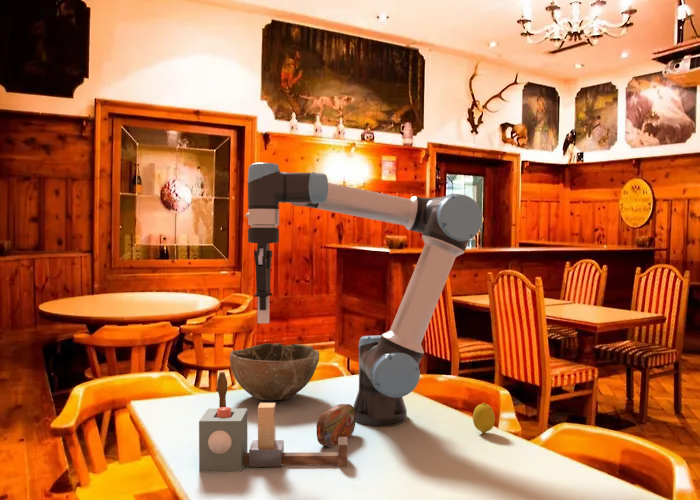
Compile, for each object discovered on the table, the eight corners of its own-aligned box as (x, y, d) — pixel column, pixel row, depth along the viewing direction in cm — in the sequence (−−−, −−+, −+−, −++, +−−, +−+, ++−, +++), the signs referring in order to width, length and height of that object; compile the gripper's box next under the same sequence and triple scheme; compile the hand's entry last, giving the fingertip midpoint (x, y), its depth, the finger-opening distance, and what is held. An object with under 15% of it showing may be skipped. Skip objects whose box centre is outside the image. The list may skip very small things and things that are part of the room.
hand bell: (231, 441, 146) (231, 377, 145) (200, 438, 147) (200, 375, 147) (244, 430, 154) (244, 369, 153) (214, 427, 155) (214, 367, 155)
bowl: (329, 390, 193) (329, 344, 192) (305, 415, 166) (305, 362, 166) (250, 384, 199) (250, 340, 198) (215, 407, 173) (214, 357, 172)
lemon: (496, 431, 153) (496, 401, 153) (492, 438, 148) (492, 407, 148) (475, 428, 155) (475, 398, 155) (470, 435, 150) (470, 404, 150)
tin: (324, 452, 139) (325, 416, 139) (313, 449, 140) (313, 414, 140) (356, 433, 152) (357, 400, 151) (346, 431, 153) (346, 399, 153)
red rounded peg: (232, 442, 133) (232, 407, 133) (229, 446, 130) (229, 411, 130) (218, 442, 133) (218, 407, 133) (216, 446, 130) (215, 411, 130)
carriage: (283, 456, 135) (283, 401, 134) (281, 467, 129) (281, 409, 128) (253, 456, 135) (253, 401, 134) (249, 467, 129) (249, 409, 128)
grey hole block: (247, 455, 136) (247, 408, 136) (240, 472, 127) (240, 421, 126) (208, 455, 136) (208, 408, 136) (198, 472, 127) (198, 421, 126)
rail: (346, 458, 135) (347, 437, 134) (347, 467, 130) (347, 444, 129) (246, 458, 134) (246, 437, 134) (242, 467, 129) (242, 445, 129)
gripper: (252, 227, 150) (252, 318, 151) (243, 226, 137) (243, 327, 138) (281, 227, 151) (281, 318, 151) (276, 226, 138) (275, 327, 138)
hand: (263, 322), depth 145 cm, fingers closed
